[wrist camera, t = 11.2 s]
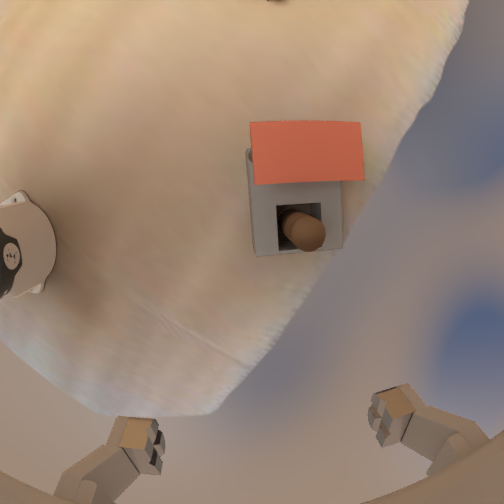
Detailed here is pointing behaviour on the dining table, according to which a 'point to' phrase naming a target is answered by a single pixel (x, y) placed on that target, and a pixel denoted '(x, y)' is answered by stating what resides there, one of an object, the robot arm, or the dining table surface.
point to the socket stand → (300, 176)
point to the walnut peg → (302, 229)
